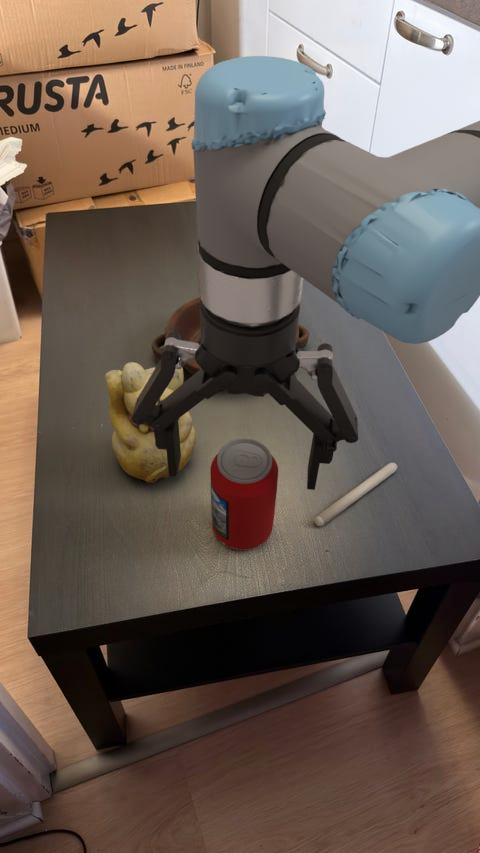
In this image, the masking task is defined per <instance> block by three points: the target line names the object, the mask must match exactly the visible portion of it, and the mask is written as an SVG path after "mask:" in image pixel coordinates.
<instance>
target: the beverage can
mask: <svg viewBox="0 0 480 853" xmlns="http://www.w3.org/2000/svg"><path fill="white" fill-rule="evenodd" d="M209 471H210V472H209V473H210V476H209V477H210V508H211V524H212V530H213V533H214V535H215V537H216V538H217V540H219V542H221V543H222V544H223V545H224V546H227V547H229V548H231V549H233V550H241V551H245V550H246V551H247V550H252V549H255V548H258V547H259V546H261V545H263V544H264V543H265V542H267V540H268V539H269V538H270V536H271V535H272V532H273V528H274V521H275V514H276V513H275V512H276V504H277V503H276V502H277V493H278V483H279V482H278V481H279V466H278V463H277V461H276V459H275V457H274V456H273V455H272V453H271V451H270V449H269V448H268V447H267V446H266V445H265V444H264V443H262V442H260V441H258V440H256V439H253V438H244V437H243V438H235V439H233V440H230V441H228V442H226V443H225V444H224V445H223V446H222V447H221V448H220V449H219V451H218V452H217V454H216V455H215V456H214V458H213V459H212V461H211V464H210V469H209Z"/></svg>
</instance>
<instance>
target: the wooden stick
mask: <svg viewBox="0 0 480 853" xmlns="http://www.w3.org/2000/svg"><path fill="white" fill-rule="evenodd" d="M397 470H398V465H397V464H396V463H395V462H392V461H391V462H389V463H387V464H386V465H385V466H383V467H381V469H379V470H378V471H377V472H375V473H374V474H372V475H371V476H369V477H368V478H367V479H365V480H364V481H363V482H362V483H361V482H360V484H359V485H357V486H356V487H355V488H353V489H352V490H350V491H349V492H348V493H346V494H345V495H343V496H342V497H341V498H339V500H337V501H335V502H334V503H332V504H331V505H330V506H329V507H327V508H326V509H324V510H323V511H322V512H321V513H319V514H318V515H316V516H315V518H314V524H315V525H316V526H318V527H322V526H324V525H326V524H327V523H328V522H330V521H331V520H332V519H334V518H335V517H336V516H338V515H339V514H341V513H342V512H343V511H344V510H346V509H347V508H348V507H350V506H351V505H352V504H354V503H355V502H356V501H358V500H359V499H361V498H362V497H363V496H365V495H366V494H367V493H369V492H370V491H371V490H373V489H374V488H375V487H377V486H378V485H379V484H381V483H382V482H384V481H385V480H386V479H387V478H389V477H391V475H392V474H394V473H395V472H396V471H397Z"/></svg>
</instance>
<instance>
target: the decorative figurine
mask: <svg viewBox="0 0 480 853" xmlns="http://www.w3.org/2000/svg"><path fill="white" fill-rule="evenodd" d="M155 368H156V367H150V368H147V369H144V367H143V366H142V365H141V364H139V363H137V362H133V361H130V362H127V363H125V365H124V366H123V368H122V370H120V369H111V370H109V371H108V372H106V373H105V375H104V379H105V383H106V387H107V392H108V398H109V400H108V414H109V415H108V416H109V420H110V422H111V427H112V428H113V430H114V431H113V433H112V436H111V446H112V450H113V452H114V455H115V457H116V459H117V462H118V464H119V465H120V467H121V469H122V470H123V471H124V472H125V473H126V474H128V475H129V476H130V477H132V478H136V479H139V480H143V481H145V482H146V483H156V482H157V481H158V480H159V479H165V478H168V477H170V476H169V470H168V461H167V451H166V450H164V449H158V448H157V447H156V444H155V436H154V429H153V428H152V426H151V425H150V424H148V423H145V422H144V423H143V424H141V425H138V424H135V423H133V422H132V420H131V419H132V415H133V411H134V408H135V404H136V401H137V398H138V396H139V395H140V393H141V391H142V390H143V388H144V386H145V385H146V383H147V381H148V380H149V378H150V376H151V375H152V373H153V371H154V370H155ZM184 378H185V376H184V367H183V366H182V368H181V369H175V373H174V376H173V378H172V380H171V381H170V383H169V385H168V386H167V388H166V389H165V391H164V392H163V394H162V396H161V397H160V401H161V400H164V399H165V398H166V397H167V396H168V395H170V394H171V393H172V392H173V391H175V390H176V389H177V388H178V387H180V386H181V385H182V384H183V383H184ZM157 403H158V402H157ZM157 403H156V405H157ZM178 423H179V436H180V449H181V459H180V464H179V468H178V472H180V471H181V470H182V469H183V468H184V467H185V466H186V464H187V463H188V462H189V460H190V457H191V455H192V453H193V451H194V448H195V446H196V442H197V441H196V438H197V436H196V431H195V428H194V426H193V425H194V424H193V419H192V417H191V414H190V413H189V411H188V412H186V413H185V414H184V415H182V416H181V417H180V418H179V419H178Z"/></svg>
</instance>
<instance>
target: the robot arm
mask: <svg viewBox="0 0 480 853" xmlns="http://www.w3.org/2000/svg"><path fill="white" fill-rule="evenodd" d="M326 114H327V112H326V110H325V85H324V83H323V81H322V80H321V78H320V77H319V75H317V73H316V71H315V70H314V69H312V68H311V67H310V66H308V65H306V64H305V63H302V62H299V61H296V60H292V59H289V58H285V57H280V56H279V57H278V56H268V55H250V56H249V55H248V56H241V57H239V56H238V57H235V58H231V59H228V60H223V61H220V62H218V63H216V64H214V65H212V66H210V67H209V68H207V69H206V70H205V71H204V73H202V74H201V76H200V77H199V79H198V81H197V84H196V86H195V92H194V118H193V120H194V122H193V139H192V140H191V144H190V145H191V149H192V150H193V151H192V152H193V171H194V173H193V174H194V191H195V212H196V233H197V246H196V248H197V274H198V276H197V277H198V295H199V297H200V334H201V339H200V341H199V342H198V343H195V342H189V341H183V340H181V336H180V334H179V333H177V332H174V331H171V332H169V333H168V334H167V336H166V340H165V344H164V345H163V346H162V350H163V351H162V355H161V360H159V361H158V363H157V365H156V366H155V367H154V368H155V370H154V371H153V373H152V375H151V376H150V378H149V380H148V381H147V383H146V385H145V386H144V388H143V390H142V391H141V393H140V395H139V396H138V398H137V401H136V404H135V408H134V411H133V415H132V419H131V420H132V422H133V423H135V424H138V425H141V424H143V423H144V422H145V423H148V424H150V425H151V426H152V428H153V429H154V436H155V444H156V447H157V448H158V449H164V450H166V451H167V461H168V470H169V476H168V477H170V478H171V477H172V478H177V477H178V474H179V471H178V468H179V464H180V459H181V449H180V436H179V423H178V419H179V418H180V417H181V416H182V415H184V414H185V413H186V412H188V413H189V411H191V409H194V408H195V407H196V406H197V405H198V404H200V403H201V402H202V401H204V400H205V399H206V400H210V399H211V398H212V397H214V396H215V395H216V394H218V393H219V392H221V391H222V390H223V391H226V394H228V395H244V394H246V395H249V396H254V397H261V398H264V396H265V395H267V394H268V395H269V396H270V397H271V398H272V399H273V400H274V401H275V402H276V403H277V404H278V405H280V406H285V407H286V408H287V409H288V410H289V411H290V412H291V413H292V414H293V415H294V416H295V417H296V418H297V419H298V420H299V421H300V422H301V423H302V424H303V425H304V426H305V427H306V428H308V430H309V431H311V433H313V434H312V439H311V445H310V451H309V458H308V464H307V474H306V475H307V477H306V478H307V480H306V489H307V490H309V491H310V490H312V491H314V490H316V485H317V480H318V474H319V470H320V464H324V465H330V464H331V463H332V461H333V457H334V453H335V452H336V451H337V450H338V442H340V441H345V442H346V443H349V444H354V443H356V442H358V441H359V423H358V421H359V420H358V416H357V413H356V411H355V410H354V407H353V405H352V403H351V401H350V398H349V397H348V395H347V392H346V390H345V388H344V386H343V384H342V382H341V379H340V378H339V375H338V373H337V372H336V369H335V367H334V365H333V364H334V362H333V359H334V358H333V356H334V354H333V353H334V352H333V349H334V348H333V346H332V345H331V344H329V343H327V342H326V343H321V344H319V345H318V347H317V350H300V349H298V348H297V346H296V338H297V329H298V325H299V320H300V310H301V303H300V302H301V300H302V294H303V285H304V281H306V282H307V283H309V284H310V285H312V286H313V287H315V288H316V289H317V290H318V291H320V292H321V293H322V294H324V295H325V296H327V297H328V298H330V299H331V300H332V301H334V302H335V303H337V304H338V305H339V306H340V308H342V309H344V311H345V312H346V313H348V314H349V315H350V316H351V317H353V318H356V319H357V320H363V321H365V323H368V324H370V325H371V326H373V327H375V328H377V329H378V330H380V331H381V332H383V333H384V334H387V335H389V336H390V337H392V338H394V339H395V340H397V341H399V342H402V343H405V344H414V345H418V344H423V343H428V342H431V341H433V340H435V339H438V338H439V337H441V336H443V335H444V334H446V333H447V332H448V331H450V330H451V329H452V328H453V327H454V326H455V325H456V323H457V322H458V319H460V317H461V316H462V315H464V314H466V313H469V311H470V310H471V309H472V307H473V306H474V305H475V304H476V302H477V301H478V300H479V298H480V120H477V121H475V122H473V123H471V124H468V125H466V126H463V127H460V128H459V129H456V130H452V131H450V132H448V133H445V134H443V135H440V136H438V137H436V138H432V139H429V140H427V141H425V142H422V143H420V144H418V145H414V146H413V147H410V148H407V149H405V150H403V151H400V152H398V153H396V154H393V155H391V156H387V157H386V156H385V157H384V156H377V155H376V154H373V153H371V152H370V151H368V150H366V149H363V148H362V147H359V146H358V145H356V144H353V143H351V142H350V141H347V140H345V139H343V138H341V137H340V136H338V135H337V134H334V133H333V132H331V131H329V130H326V129H325V128H323V122H324V120H325V118H326ZM190 359H195V360H196V362H197V364H198V365H199V366H200V367H201V368H200V370H199V371H198V372H197V373H196V374H194V375H192V376H190V377H189V378H188V379H187V380H186V381H183V384H182V385H181V386H180V387H178V388H177V389H176V390H175V391H173V392H172V393H171V394H170V395H168V396H167V397H166V398H165V399H164V400H161V401H160V397H161V396H162V394H163V392H164V391H165V389H166V388H167V386H168V385H169V383H170V381H171V380H172V378H173V376H174V373H175V369H181V368H182V367H183V366H184V365H186V363H187V361H188V360H190ZM300 368H301V369H304V370H305V371H306V372H307V375H308V376H309V377H310V379H311V380H312V381H314V382H315V381H316V382H317V387H318V390H319V392H320V395H321V396H322V398H323V401H324V402H325V404H326V406H327V408H328V409H326V408H325V406H324V405H323V404H322V403H321V402H319V400H318V399H317V398H316V397H315V396H314V395H313V394H312V393H311V392H310V391H309V389H307V388H306V387H305V385H304V384H302V382H301V381H300V380H299V379H298V378H297V375H296V373H297V371H298V370H299V369H300ZM157 402H158V403H157ZM156 403H157V405H156ZM328 410H329V411H328Z"/></svg>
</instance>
